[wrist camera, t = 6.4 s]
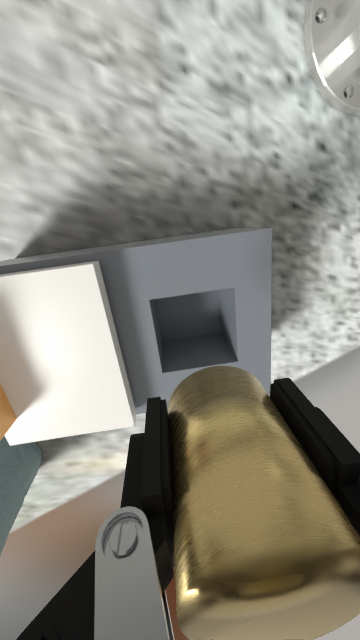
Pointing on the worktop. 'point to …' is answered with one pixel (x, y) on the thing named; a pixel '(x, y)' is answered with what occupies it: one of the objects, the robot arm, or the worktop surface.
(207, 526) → the peg
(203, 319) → the housing
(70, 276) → the lid
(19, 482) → the blue-grey cup
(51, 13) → the worktop surface
